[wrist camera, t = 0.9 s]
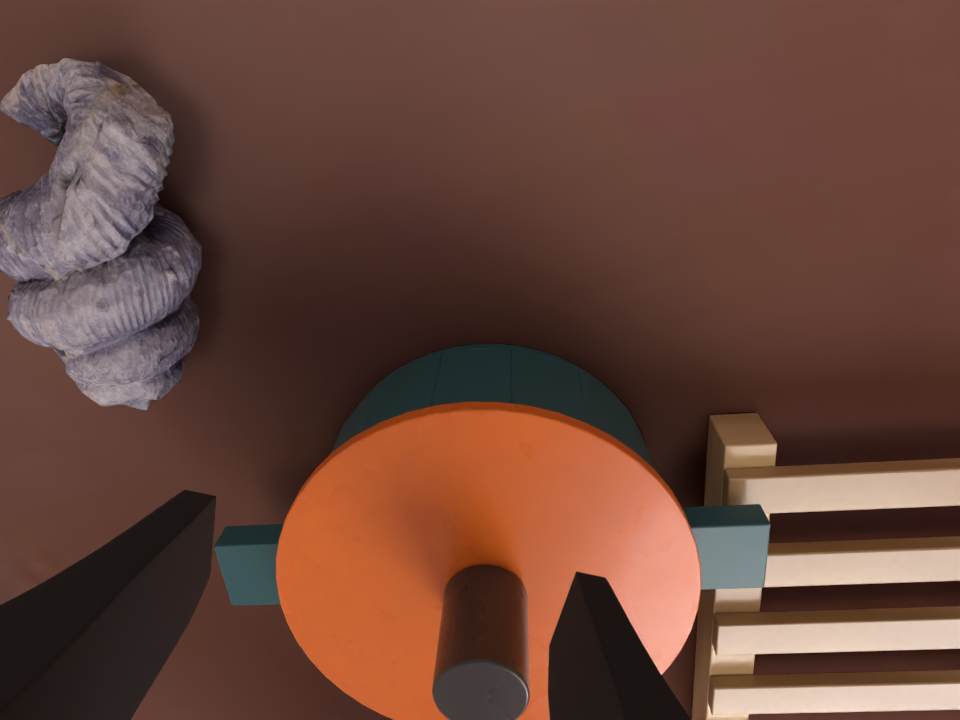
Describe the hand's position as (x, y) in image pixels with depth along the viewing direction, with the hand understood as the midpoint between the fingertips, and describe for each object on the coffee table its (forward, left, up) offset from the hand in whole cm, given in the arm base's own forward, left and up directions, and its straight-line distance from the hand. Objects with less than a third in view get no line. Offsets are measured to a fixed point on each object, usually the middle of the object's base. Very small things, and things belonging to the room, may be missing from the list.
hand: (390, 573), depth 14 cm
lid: (-5, -1, -5) cm, 7 cm away
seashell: (+5, +9, -10) cm, 14 cm away
